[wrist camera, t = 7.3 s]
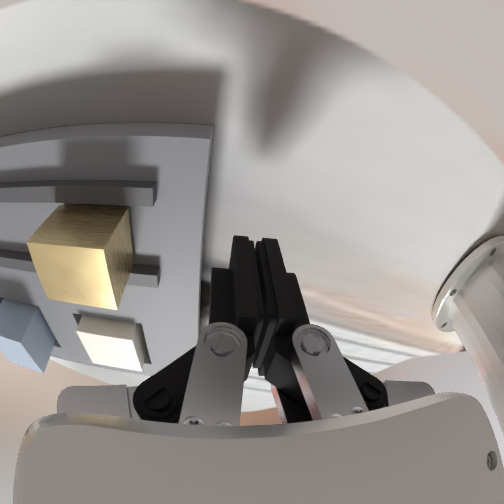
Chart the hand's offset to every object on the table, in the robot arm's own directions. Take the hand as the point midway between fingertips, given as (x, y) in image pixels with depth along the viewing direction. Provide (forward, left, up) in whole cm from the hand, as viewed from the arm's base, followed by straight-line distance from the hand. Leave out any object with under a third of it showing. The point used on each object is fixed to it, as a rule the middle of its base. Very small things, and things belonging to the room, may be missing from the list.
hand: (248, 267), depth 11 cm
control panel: (+12, +5, -5) cm, 14 cm away
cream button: (+8, +9, -4) cm, 13 cm away
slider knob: (+7, 0, -2) cm, 7 cm away
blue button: (+16, +9, -2) cm, 19 cm away
